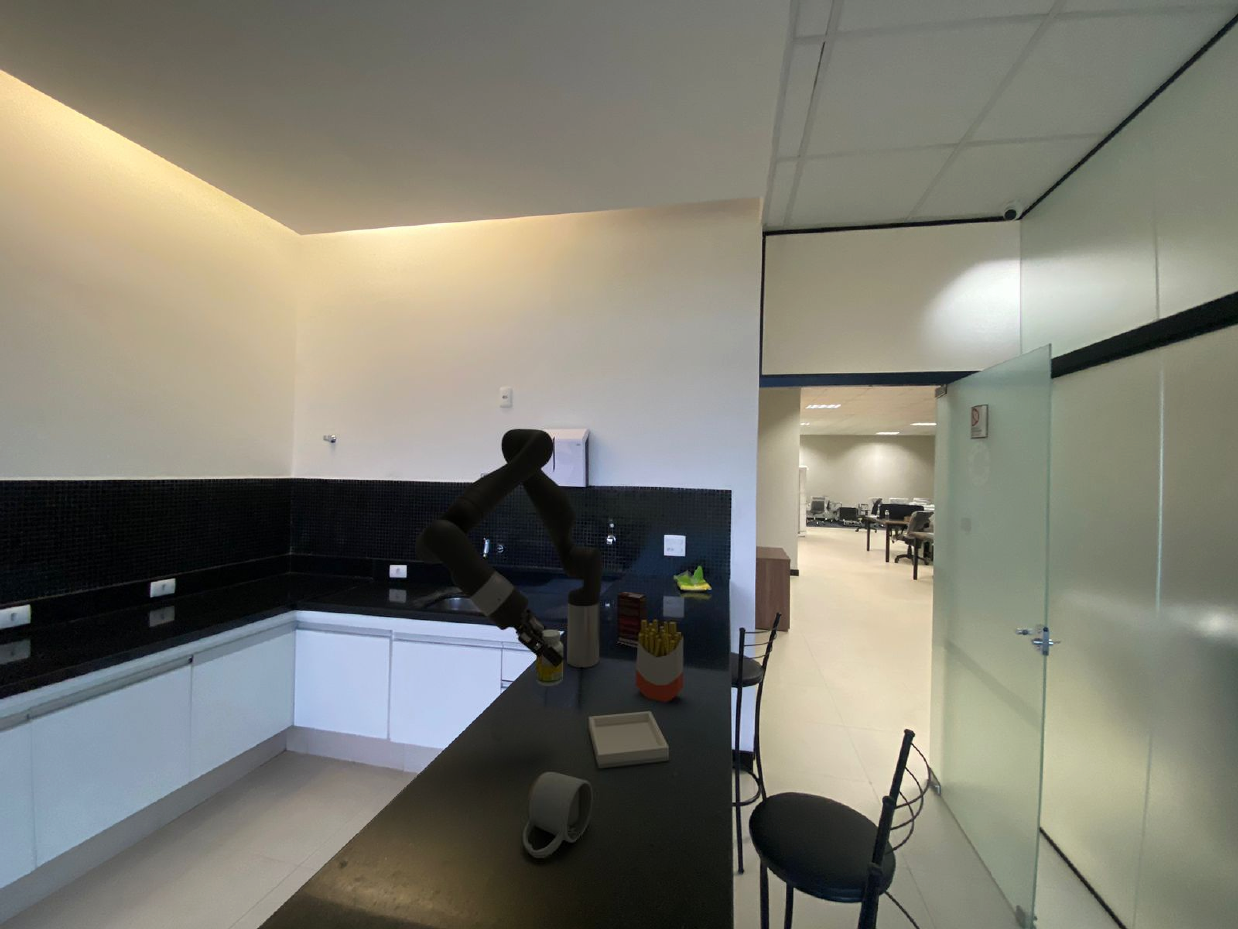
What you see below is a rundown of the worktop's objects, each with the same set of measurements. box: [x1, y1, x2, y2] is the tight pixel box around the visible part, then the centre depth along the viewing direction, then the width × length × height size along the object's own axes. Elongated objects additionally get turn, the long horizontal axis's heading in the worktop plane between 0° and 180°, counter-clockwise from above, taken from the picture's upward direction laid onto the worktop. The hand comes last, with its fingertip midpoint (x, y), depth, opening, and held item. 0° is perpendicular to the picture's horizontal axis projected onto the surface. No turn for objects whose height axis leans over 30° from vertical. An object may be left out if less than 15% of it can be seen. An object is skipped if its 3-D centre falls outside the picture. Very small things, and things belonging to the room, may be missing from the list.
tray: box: [588, 710, 670, 769], centre depth 94 cm, size 14×14×2 cm
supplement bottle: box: [535, 629, 564, 687], centre depth 93 cm, size 5×5×10 cm
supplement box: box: [616, 591, 648, 649], centre depth 148 cm, size 9×5×16 cm, turn 58°
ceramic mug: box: [522, 771, 594, 855], centre depth 70 cm, size 11×8×8 cm
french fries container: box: [635, 619, 684, 703], centre depth 114 cm, size 5×11×18 cm, turn 66°
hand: (558, 656), depth 93 cm, fingers closed on supplement bottle, 5 cm apart
